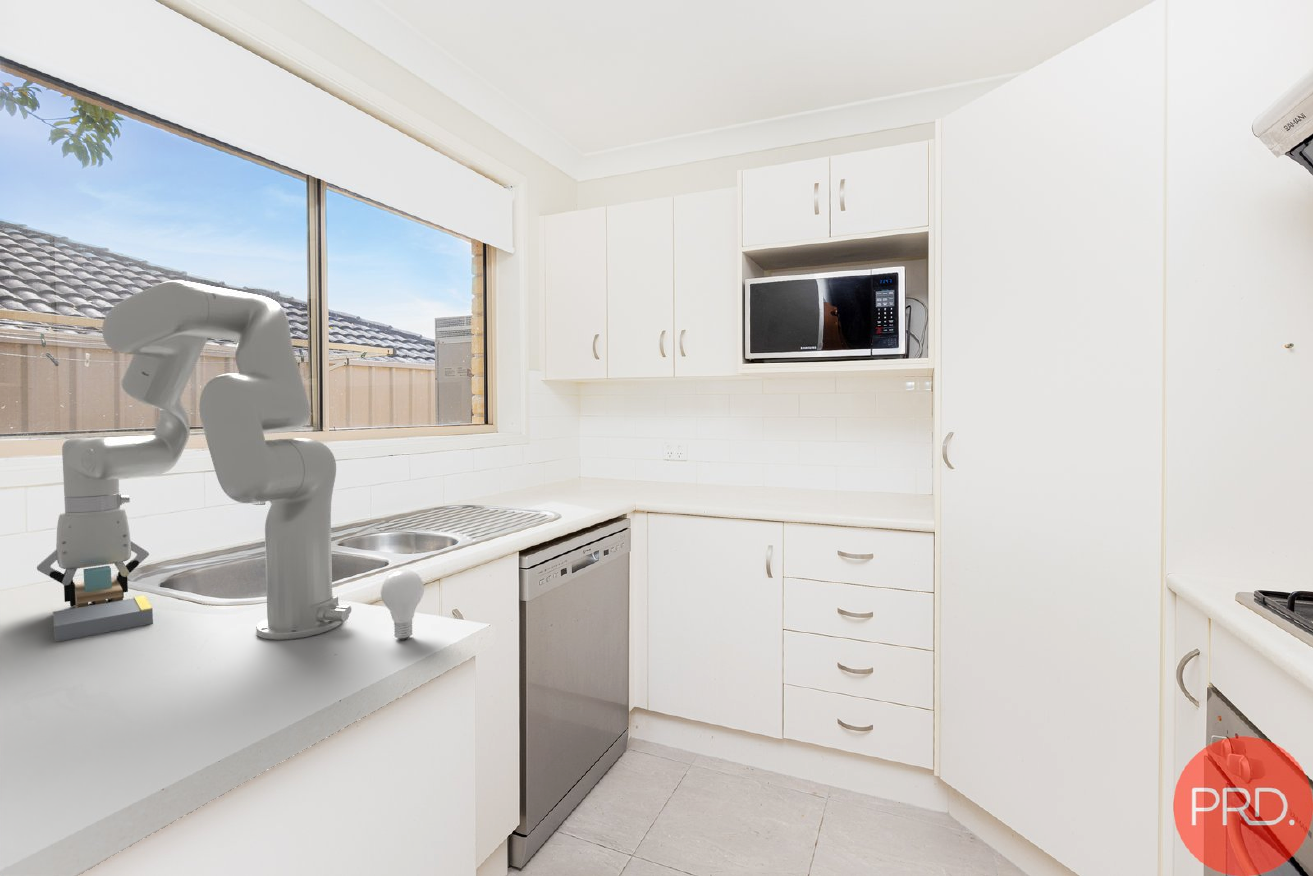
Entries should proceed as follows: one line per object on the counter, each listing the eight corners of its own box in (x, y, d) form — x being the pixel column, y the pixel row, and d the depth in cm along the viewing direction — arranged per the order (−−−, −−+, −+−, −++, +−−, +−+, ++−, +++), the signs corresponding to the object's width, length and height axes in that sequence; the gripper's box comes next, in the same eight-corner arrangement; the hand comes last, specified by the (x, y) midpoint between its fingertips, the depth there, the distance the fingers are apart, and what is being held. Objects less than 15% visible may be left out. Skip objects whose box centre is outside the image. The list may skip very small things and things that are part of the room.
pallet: (123, 611, 111) (122, 589, 111) (77, 620, 107) (76, 597, 107) (117, 598, 120) (116, 577, 119) (74, 605, 115) (73, 583, 115)
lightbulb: (433, 635, 100) (432, 568, 100) (402, 649, 94) (401, 577, 94) (404, 629, 103) (403, 563, 102) (372, 642, 97) (371, 573, 96)
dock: (153, 623, 106) (152, 607, 106) (55, 642, 97) (54, 625, 97) (145, 610, 113) (144, 595, 113) (53, 626, 104) (52, 610, 104)
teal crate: (111, 588, 112) (110, 568, 112) (85, 592, 110) (84, 572, 110) (109, 584, 115) (109, 565, 114) (84, 588, 112) (83, 569, 112)
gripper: (149, 497, 123) (153, 587, 124) (26, 507, 111) (31, 607, 112) (155, 501, 118) (159, 595, 119) (26, 512, 106) (31, 616, 106)
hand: (97, 599), depth 115 cm, fingers closed on pallet, 6 cm apart
